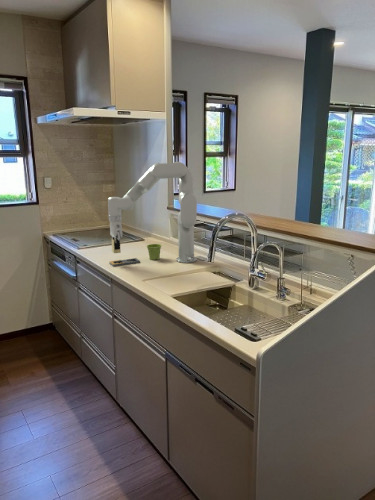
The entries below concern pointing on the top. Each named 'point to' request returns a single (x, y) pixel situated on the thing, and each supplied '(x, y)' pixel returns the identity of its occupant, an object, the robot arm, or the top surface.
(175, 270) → the top surface
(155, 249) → the plant pot
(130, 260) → the rail
